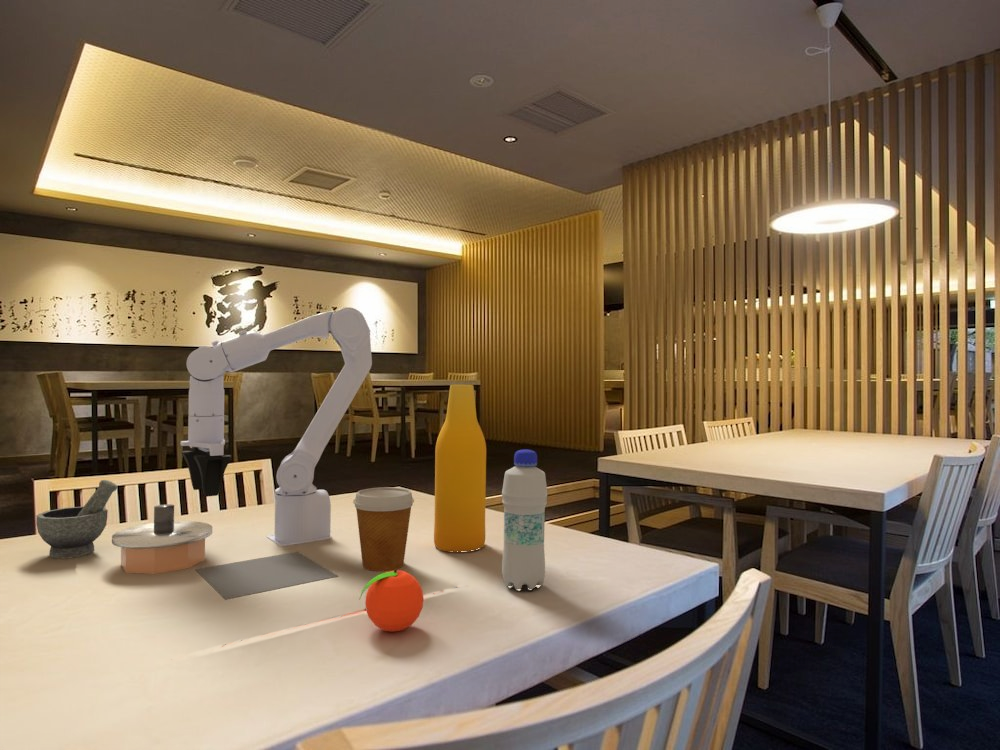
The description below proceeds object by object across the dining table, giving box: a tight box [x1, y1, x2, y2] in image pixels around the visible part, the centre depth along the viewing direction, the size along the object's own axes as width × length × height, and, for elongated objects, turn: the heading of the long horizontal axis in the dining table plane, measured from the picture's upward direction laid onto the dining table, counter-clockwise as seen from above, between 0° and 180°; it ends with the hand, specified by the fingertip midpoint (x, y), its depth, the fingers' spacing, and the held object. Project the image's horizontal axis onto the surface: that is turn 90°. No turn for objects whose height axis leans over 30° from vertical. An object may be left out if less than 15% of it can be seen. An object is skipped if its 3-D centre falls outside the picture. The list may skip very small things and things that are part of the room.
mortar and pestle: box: [36, 479, 118, 559], centre depth 104 cm, size 11×9×12 cm
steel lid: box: [111, 504, 213, 549], centre depth 98 cm, size 14×14×5 cm
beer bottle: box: [433, 384, 487, 553], centre depth 111 cm, size 9×9×29 cm
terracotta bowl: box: [120, 538, 206, 575], centre depth 98 cm, size 11×11×4 cm
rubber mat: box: [194, 551, 339, 601], centre depth 93 cm, size 16×16×1 cm
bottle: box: [501, 449, 549, 590], centre depth 90 cm, size 7×7×20 cm
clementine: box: [358, 569, 425, 632], centre depth 74 cm, size 8×7×7 cm
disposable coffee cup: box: [352, 486, 415, 572], centre depth 98 cm, size 10×10×12 cm
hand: (205, 492), depth 109 cm, fingers open, 7 cm apart
